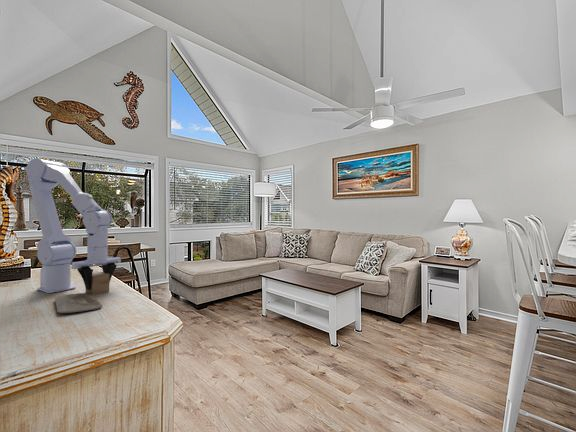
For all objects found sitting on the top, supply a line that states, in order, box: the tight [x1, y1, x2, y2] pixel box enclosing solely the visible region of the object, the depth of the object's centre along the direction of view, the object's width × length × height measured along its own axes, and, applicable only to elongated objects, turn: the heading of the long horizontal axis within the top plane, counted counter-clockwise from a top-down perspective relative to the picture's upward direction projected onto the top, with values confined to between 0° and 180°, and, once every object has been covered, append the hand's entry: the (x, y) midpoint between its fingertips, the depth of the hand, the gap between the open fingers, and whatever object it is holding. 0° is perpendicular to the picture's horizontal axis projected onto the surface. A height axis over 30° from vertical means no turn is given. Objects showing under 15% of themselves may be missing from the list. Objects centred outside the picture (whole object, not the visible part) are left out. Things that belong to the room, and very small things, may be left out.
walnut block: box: [85, 271, 110, 295], centre depth 100 cm, size 5×5×6 cm
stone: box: [54, 292, 103, 314], centre depth 86 cm, size 18×3×10 cm
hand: (97, 287), depth 100 cm, fingers closed on walnut block, 5 cm apart
